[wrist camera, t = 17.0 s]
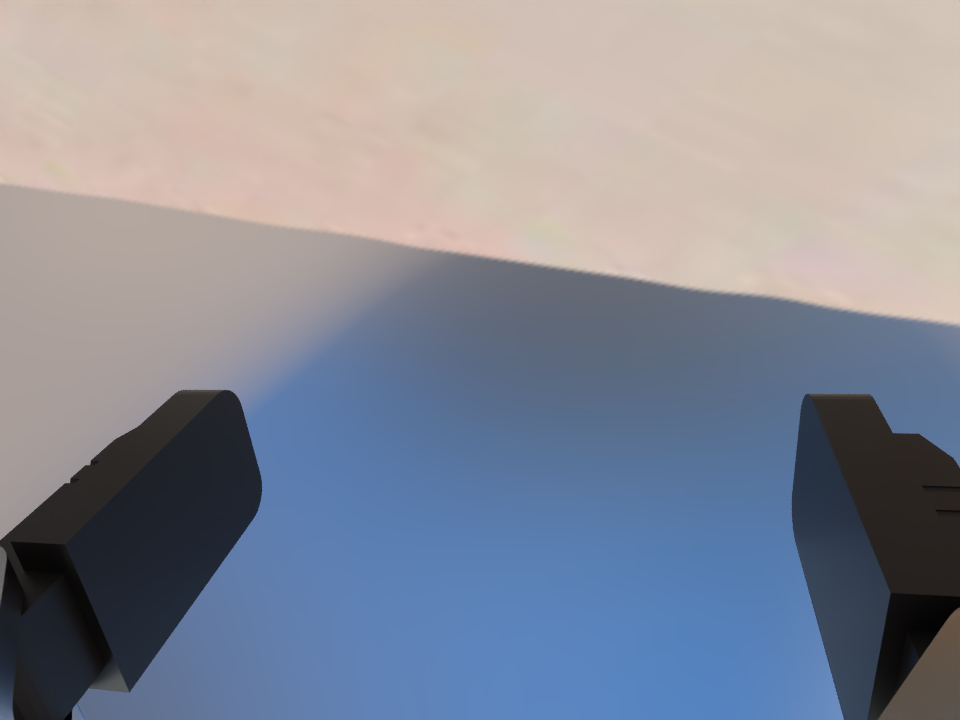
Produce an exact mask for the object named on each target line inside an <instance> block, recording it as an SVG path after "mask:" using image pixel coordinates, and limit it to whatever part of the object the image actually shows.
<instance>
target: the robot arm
mask: <svg viewBox="0 0 960 720" xmlns="http://www.w3.org/2000/svg"><path fill="white" fill-rule="evenodd" d="M261 495H262V481H261V475H260V471H259V467H258V464H257V460H256V457H255V453H254V449H253V446H252V442H251V438H250V435H249V431H248V427H247V424H246V420H245V417H244V413H243V409H242V406H241V403H240V401H239V399H238V397H237V396H236V395H235V394H234V393H233V392H231V391H229V390H181V391H178V392H177V393H175V394H174V395H173V396H172V397H171V398H170V399H169V400H167V401H166V402H165V403H164V404H163V405H162V406H161V407H160V408H158V409H157V410H156V411H155V412H154V413H153V414H152V415H151V416H150V417H148V418H147V419H146V420H145V421H144V422H143V423H142V424H141V425H139V426H138V427H137V428H135V429H133V430H131V431H129V432H128V433H126V434H124V435H122V436H121V437H119V438H117V439H115V440H114V441H113V442H112V443H110V444H109V445H108V446H107V447H106V448H105V449H104V450H102V451H101V452H100V453H99V454H98V455H97V456H96V457H94V458H93V459H92V460H91V464H90V465H85V466H84V467H83V468H82V469H81V470H80V471H79V472H77V473H76V474H75V475H74V476H73V477H72V478H71V481H70V483H65V484H64V485H63V486H62V487H60V488H59V489H58V490H57V491H56V492H55V493H54V494H53V495H51V496H50V497H49V498H48V499H47V500H46V501H44V502H43V503H42V504H41V505H40V506H39V507H38V508H37V509H35V510H34V511H33V512H32V513H31V514H30V515H29V516H28V517H26V518H25V519H24V520H23V521H22V522H21V523H20V524H18V525H17V526H16V527H15V528H14V529H13V530H12V531H10V532H9V533H8V534H7V535H6V536H5V537H4V538H2V539H1V540H0V720H85V716H84V714H83V712H82V710H81V708H80V706H79V704H78V701H79V700H80V698H81V697H82V696H83V695H84V693H85V692H86V691H87V689H88V688H91V689H101V690H110V691H120V692H130V691H131V689H132V688H133V687H134V685H135V684H136V682H137V681H138V680H139V678H140V677H141V675H142V674H143V673H144V671H145V670H146V668H147V667H148V666H149V664H150V663H151V661H152V660H153V659H154V657H155V656H156V654H157V653H158V651H159V650H160V649H161V647H162V646H163V645H164V643H165V642H166V640H167V639H168V638H169V636H170V635H171V633H172V632H173V631H174V629H175V628H176V626H177V625H178V623H179V622H180V621H181V619H182V618H183V617H184V615H185V614H186V612H187V611H188V609H189V608H190V607H191V605H192V604H193V603H194V601H195V600H196V598H197V597H198V596H199V594H200V593H201V591H202V590H203V589H204V587H205V586H206V584H207V583H208V582H209V580H210V579H211V577H212V576H213V575H214V573H215V572H216V570H217V569H218V568H219V566H220V565H221V563H222V562H223V561H224V559H225V558H226V556H227V555H228V554H229V552H230V551H231V549H232V548H233V547H234V545H235V544H236V542H237V541H238V540H239V538H240V537H241V535H242V534H243V533H244V531H245V530H246V528H247V527H248V525H249V524H250V523H251V521H252V520H253V519H254V517H255V515H256V513H257V511H258V508H259V505H260V501H261ZM792 522H793V531H794V537H795V542H796V546H797V549H798V553H799V557H800V561H801V563H802V568H803V571H804V575H805V579H806V582H807V586H808V590H809V593H810V597H811V600H812V604H813V608H814V611H815V615H816V619H817V622H818V626H819V630H820V633H821V637H822V641H823V644H824V648H825V652H826V655H827V659H828V662H829V666H830V670H831V673H832V677H833V681H834V684H835V688H836V692H837V695H838V699H839V703H840V706H841V710H842V713H843V717H844V720H960V468H959V466H958V465H957V463H956V461H955V460H954V458H952V457H951V456H949V455H948V454H947V453H945V452H944V451H942V450H941V449H940V448H938V447H937V446H935V445H934V444H932V443H931V442H930V441H928V440H927V439H925V438H924V437H923V436H921V435H920V434H897V433H892V431H891V429H890V427H889V425H888V424H887V422H886V420H885V418H884V417H883V414H882V413H881V411H880V409H879V407H878V406H877V404H876V402H875V400H874V398H873V397H872V396H871V395H870V394H806V395H805V396H804V399H803V402H802V406H801V413H800V423H799V432H798V442H797V452H796V462H795V472H794V481H793V492H792Z"/></svg>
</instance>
